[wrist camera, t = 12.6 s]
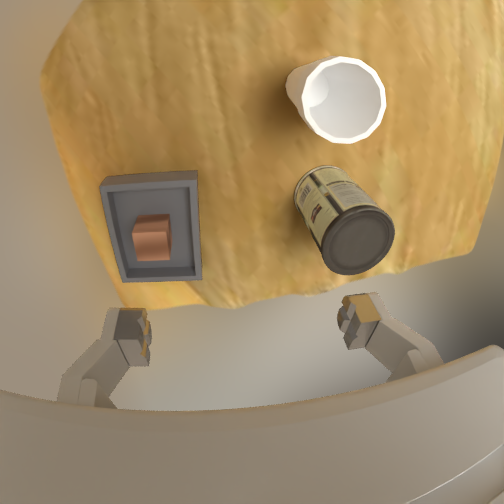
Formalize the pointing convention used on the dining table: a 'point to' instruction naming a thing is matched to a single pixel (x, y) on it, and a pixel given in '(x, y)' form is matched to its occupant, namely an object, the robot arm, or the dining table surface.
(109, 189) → the tray
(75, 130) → the dining table surface
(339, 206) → the coffee can
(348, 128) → the foam cup
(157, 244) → the block
